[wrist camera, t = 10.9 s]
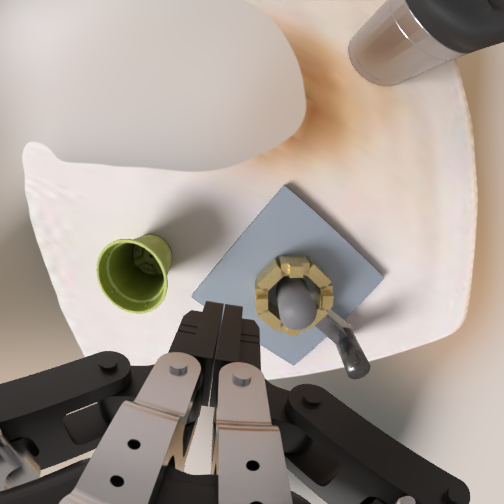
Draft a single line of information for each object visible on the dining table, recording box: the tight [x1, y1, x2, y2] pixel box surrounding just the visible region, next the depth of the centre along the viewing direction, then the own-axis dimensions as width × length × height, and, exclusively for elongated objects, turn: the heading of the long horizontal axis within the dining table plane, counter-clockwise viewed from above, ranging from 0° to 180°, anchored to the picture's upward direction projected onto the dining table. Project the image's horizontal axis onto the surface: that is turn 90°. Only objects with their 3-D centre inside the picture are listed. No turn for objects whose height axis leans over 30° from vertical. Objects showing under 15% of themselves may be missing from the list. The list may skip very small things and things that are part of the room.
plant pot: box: [96, 235, 172, 314], centre depth 35 cm, size 9×9×9 cm
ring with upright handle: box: [255, 255, 370, 379], centre depth 36 cm, size 19×10×8 cm, turn 47°
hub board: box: [192, 185, 384, 365], centre depth 36 cm, size 20×22×8 cm
